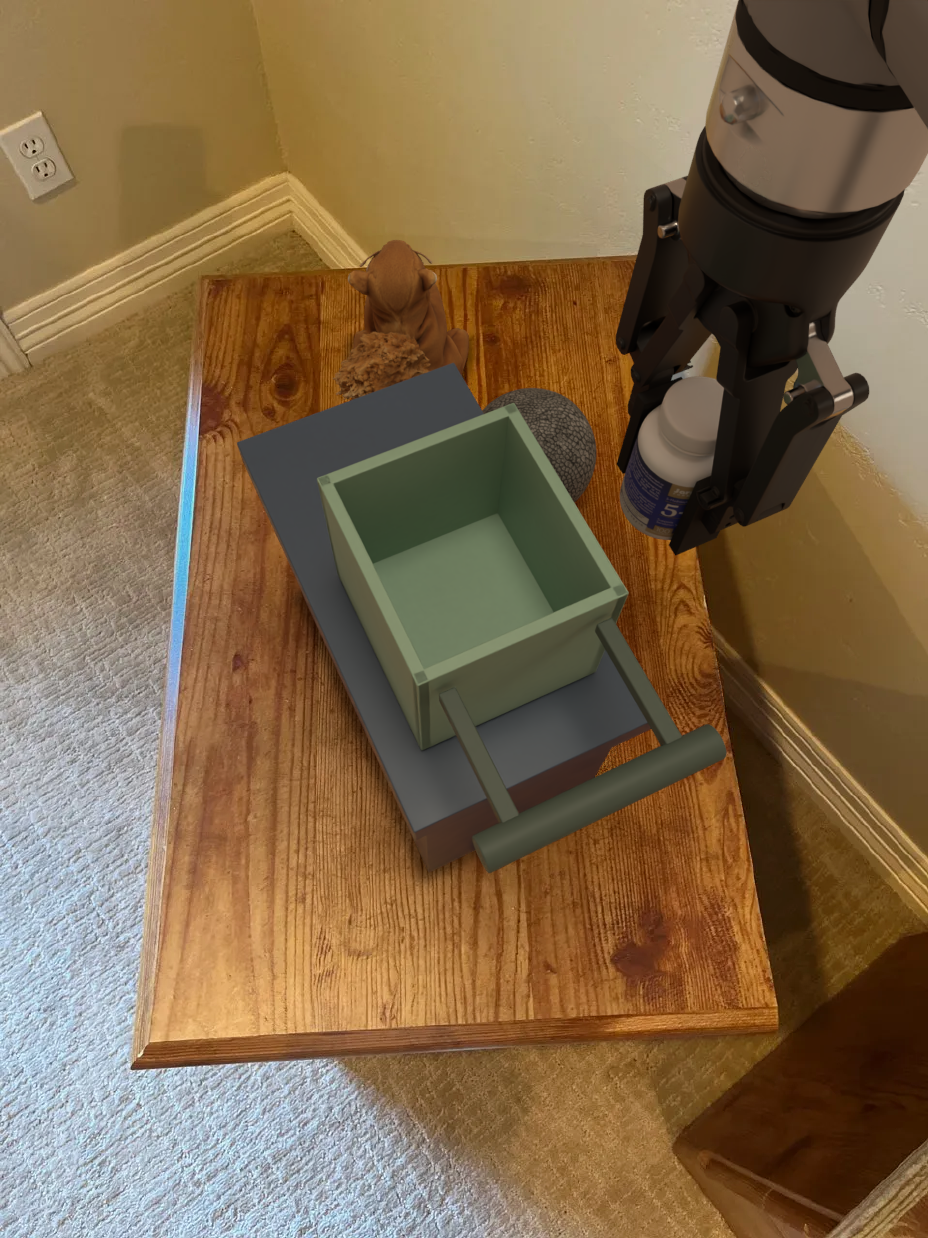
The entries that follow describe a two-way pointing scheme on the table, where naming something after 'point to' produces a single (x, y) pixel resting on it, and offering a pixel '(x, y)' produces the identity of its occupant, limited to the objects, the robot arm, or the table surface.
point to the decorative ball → (556, 433)
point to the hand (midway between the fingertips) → (665, 499)
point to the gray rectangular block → (419, 779)
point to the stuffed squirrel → (398, 324)
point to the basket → (493, 611)
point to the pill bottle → (671, 456)
